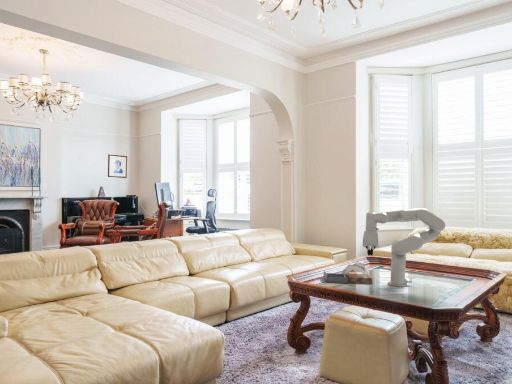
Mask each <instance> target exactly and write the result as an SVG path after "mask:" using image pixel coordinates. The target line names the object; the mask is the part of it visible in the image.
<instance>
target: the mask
mask: <svg viewBox="0 0 512 384" xmlns="http://www.w3.org/2000/svg"><path fill="white" fill-rule="evenodd" d="M348 272H362V273H363V274H366V275H369V272H368V270H367V268H366V265H365V264H364V262H362V263H360V262H359V261H355V262H354V264H348V265H347V266H346V267H344V269H343V270H342V272H341V273H340V274H344V276H345V277H346V274H348Z"/></svg>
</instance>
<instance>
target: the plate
mask: <svg viewBox="0 0 512 384" xmlns="http://www.w3.org/2000/svg"><path fill="white" fill-rule="evenodd" d="M345 277H346V278H348V284H366V285H373V277H372V276H370V275H369V274H368V275H366V274H364V277H357V276H356V277H354V276H349V275H348V274H346V275H345Z"/></svg>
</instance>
